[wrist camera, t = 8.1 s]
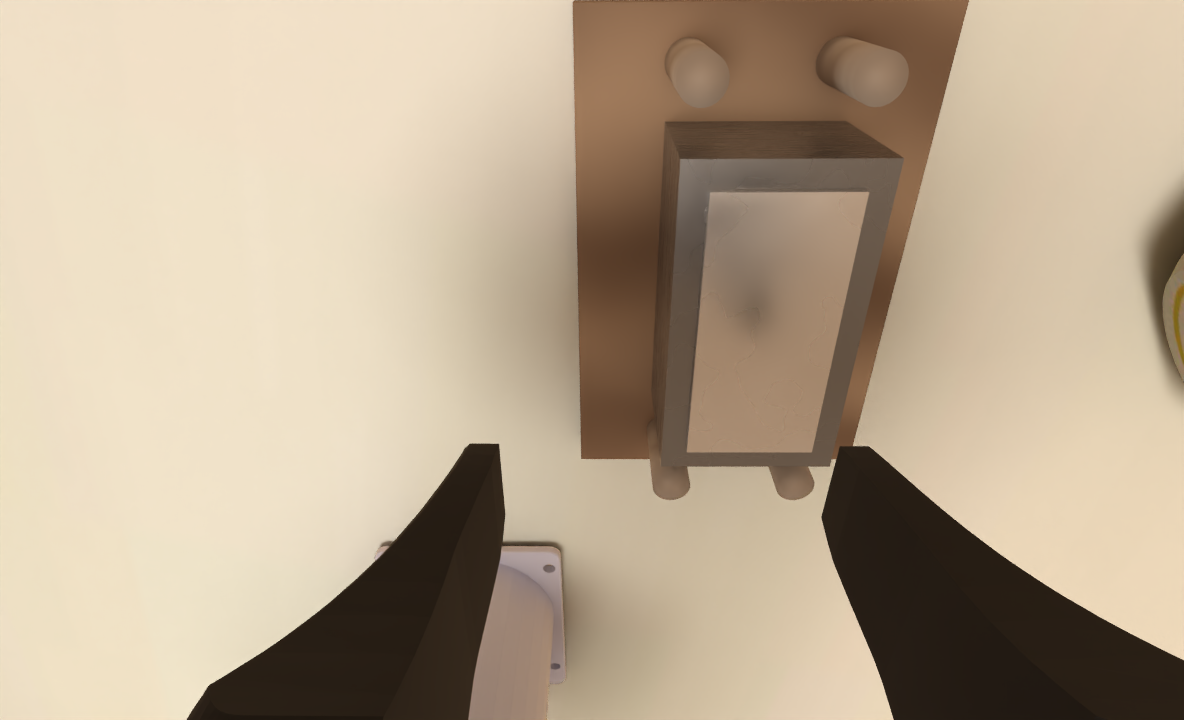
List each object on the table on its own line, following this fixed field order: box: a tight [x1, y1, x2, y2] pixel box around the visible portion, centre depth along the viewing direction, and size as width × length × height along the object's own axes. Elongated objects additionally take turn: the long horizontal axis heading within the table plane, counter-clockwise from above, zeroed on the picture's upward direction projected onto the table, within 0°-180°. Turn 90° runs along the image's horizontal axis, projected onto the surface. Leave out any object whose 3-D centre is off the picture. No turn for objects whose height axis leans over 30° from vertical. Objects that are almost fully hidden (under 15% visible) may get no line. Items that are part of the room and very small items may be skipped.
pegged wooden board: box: [573, 0, 969, 500], centre depth 19 cm, size 15×10×4 cm, turn 0°
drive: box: [651, 121, 904, 466], centre depth 18 cm, size 9×5×4 cm, turn 0°
